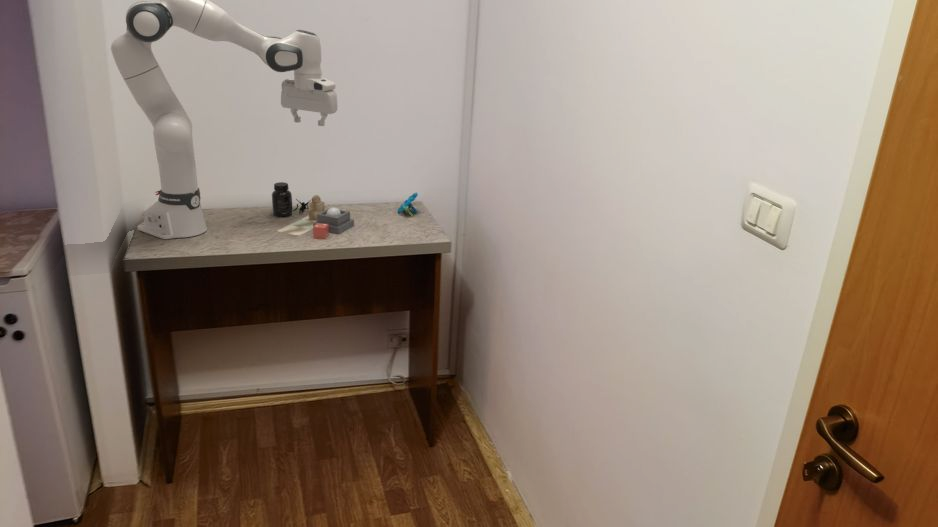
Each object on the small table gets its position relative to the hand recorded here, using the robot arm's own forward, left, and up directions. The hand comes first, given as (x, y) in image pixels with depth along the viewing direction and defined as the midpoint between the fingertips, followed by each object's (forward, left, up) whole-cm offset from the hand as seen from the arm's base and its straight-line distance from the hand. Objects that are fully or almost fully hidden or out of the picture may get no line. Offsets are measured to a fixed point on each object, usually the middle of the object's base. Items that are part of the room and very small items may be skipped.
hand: (309, 124), depth 240 cm
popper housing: (+12, -5, -34) cm, 36 cm away
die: (+13, -14, -34) cm, 39 cm away
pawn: (+2, 0, -33) cm, 33 cm away
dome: (+12, -5, -31) cm, 34 cm away
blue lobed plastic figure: (+25, +24, -34) cm, 49 cm away
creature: (-7, +4, -35) cm, 35 cm away
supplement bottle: (-11, -2, -34) cm, 36 cm away
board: (+7, -7, -34) cm, 35 cm away
